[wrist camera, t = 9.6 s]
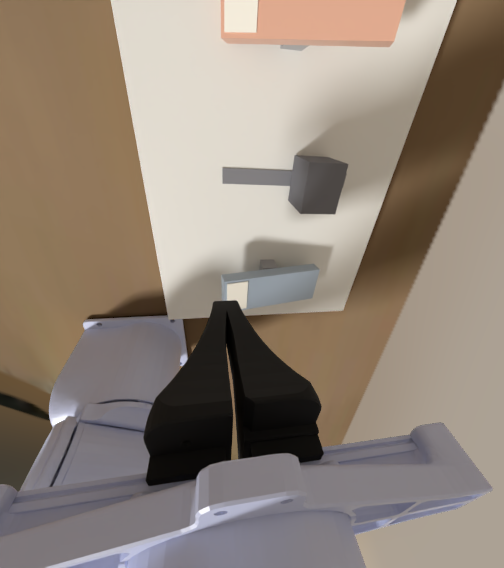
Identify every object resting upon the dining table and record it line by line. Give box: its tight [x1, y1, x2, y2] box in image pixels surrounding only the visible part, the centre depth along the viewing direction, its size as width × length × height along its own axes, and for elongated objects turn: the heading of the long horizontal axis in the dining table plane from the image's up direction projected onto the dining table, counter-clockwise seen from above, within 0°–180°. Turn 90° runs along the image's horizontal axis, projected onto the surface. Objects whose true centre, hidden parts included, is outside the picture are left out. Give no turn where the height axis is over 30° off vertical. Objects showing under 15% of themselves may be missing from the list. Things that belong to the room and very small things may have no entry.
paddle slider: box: [288, 155, 348, 214], centre depth 16 cm, size 2×3×3 cm
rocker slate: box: [221, 264, 320, 310], centre depth 20 cm, size 8×3×1 cm, turn 86°
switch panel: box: [111, 0, 457, 320], centre depth 17 cm, size 18×26×3 cm
